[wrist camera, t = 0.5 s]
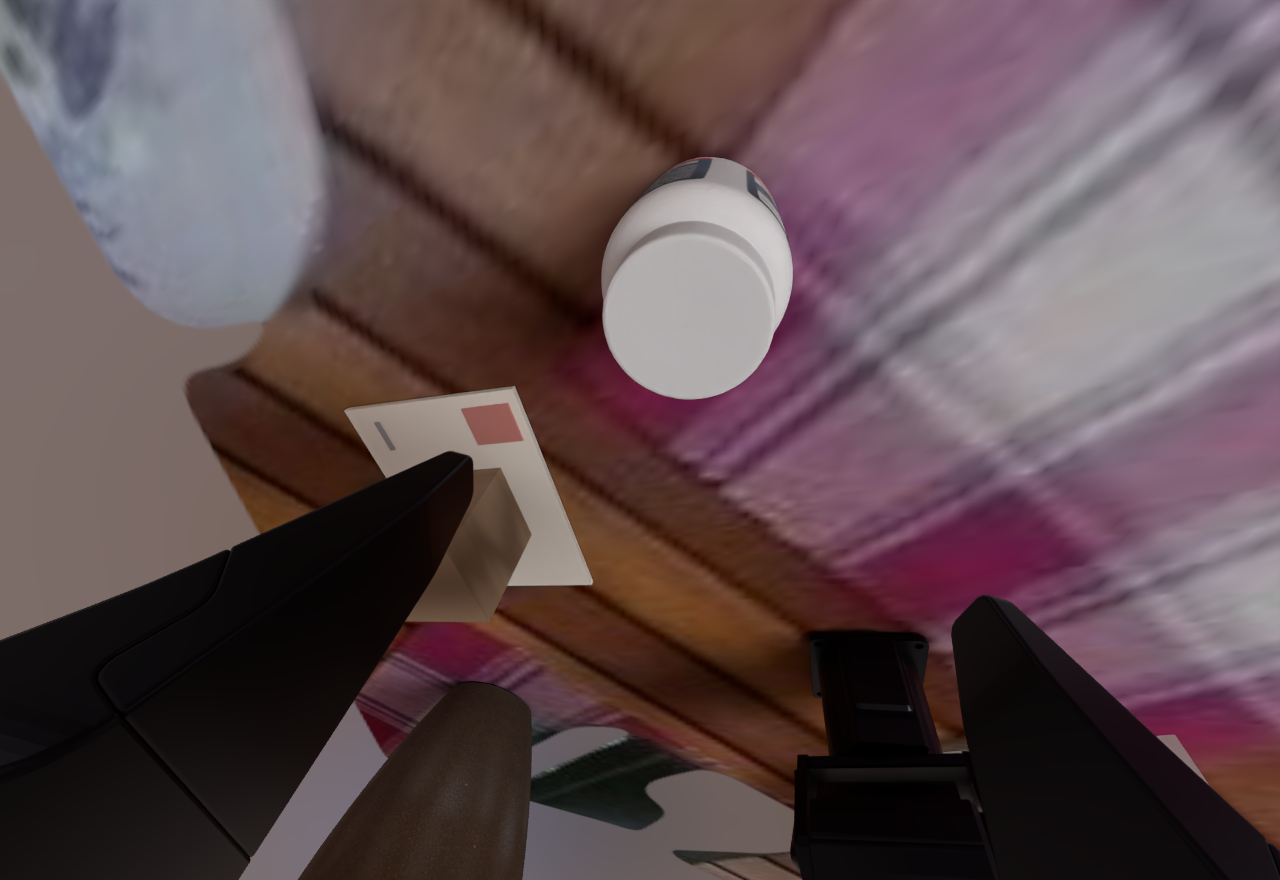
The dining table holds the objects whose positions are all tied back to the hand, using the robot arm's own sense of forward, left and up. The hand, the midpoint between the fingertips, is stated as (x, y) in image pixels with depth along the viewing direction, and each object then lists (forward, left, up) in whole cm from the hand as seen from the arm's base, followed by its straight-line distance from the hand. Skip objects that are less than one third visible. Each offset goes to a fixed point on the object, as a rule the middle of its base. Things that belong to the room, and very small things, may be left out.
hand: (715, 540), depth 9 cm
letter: (-10, +16, -13) cm, 23 cm away
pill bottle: (+2, +1, -14) cm, 14 cm away
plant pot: (-33, +25, -14) cm, 43 cm away
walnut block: (-10, +16, -13) cm, 23 cm away
